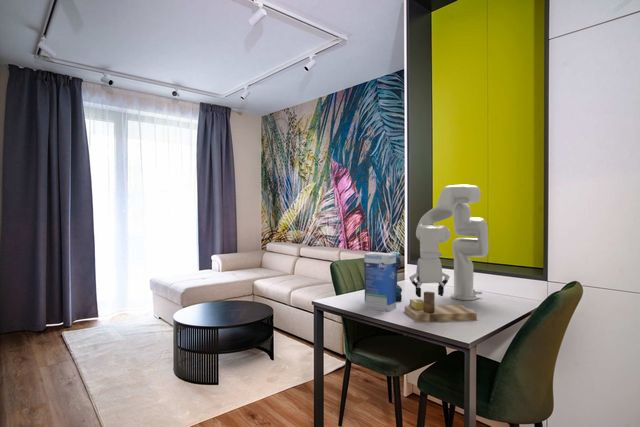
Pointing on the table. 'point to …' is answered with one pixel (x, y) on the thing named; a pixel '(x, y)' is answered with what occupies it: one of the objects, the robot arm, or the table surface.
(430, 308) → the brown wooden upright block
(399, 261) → the impact wrench
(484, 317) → the table surface
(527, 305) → the table surface
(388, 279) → the string lights box
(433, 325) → the table surface
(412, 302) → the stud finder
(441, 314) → the wooden pallet
